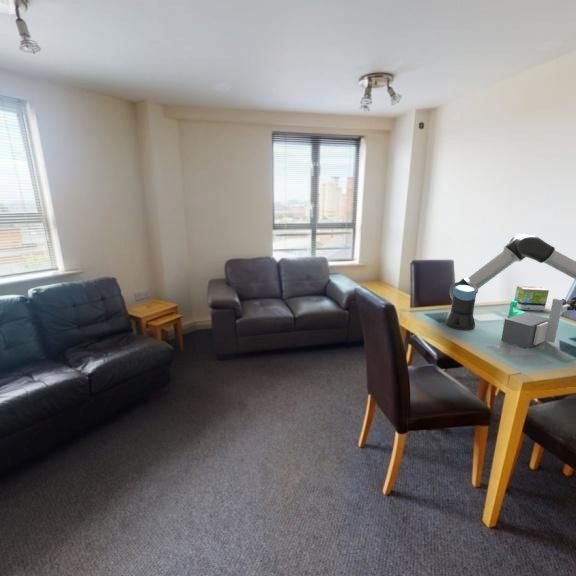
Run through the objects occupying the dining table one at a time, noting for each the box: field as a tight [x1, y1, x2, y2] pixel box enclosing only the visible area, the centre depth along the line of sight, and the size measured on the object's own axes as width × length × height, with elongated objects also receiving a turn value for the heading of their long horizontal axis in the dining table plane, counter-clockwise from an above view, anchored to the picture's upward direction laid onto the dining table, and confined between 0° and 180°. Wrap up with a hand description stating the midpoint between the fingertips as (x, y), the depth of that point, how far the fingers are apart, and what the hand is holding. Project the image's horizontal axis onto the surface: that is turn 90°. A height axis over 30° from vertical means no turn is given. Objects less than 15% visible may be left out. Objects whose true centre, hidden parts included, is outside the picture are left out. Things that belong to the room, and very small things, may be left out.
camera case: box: [500, 311, 549, 350], centre depth 166 cm, size 20×12×12 cm, turn 120°
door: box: [533, 298, 563, 346], centre depth 157 cm, size 10×5×22 cm, turn 120°
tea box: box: [513, 285, 550, 311], centre depth 218 cm, size 15×10×15 cm
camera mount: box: [507, 299, 525, 318], centre depth 203 cm, size 12×8×10 cm, turn 143°
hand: (562, 309), depth 159 cm, fingers closed
